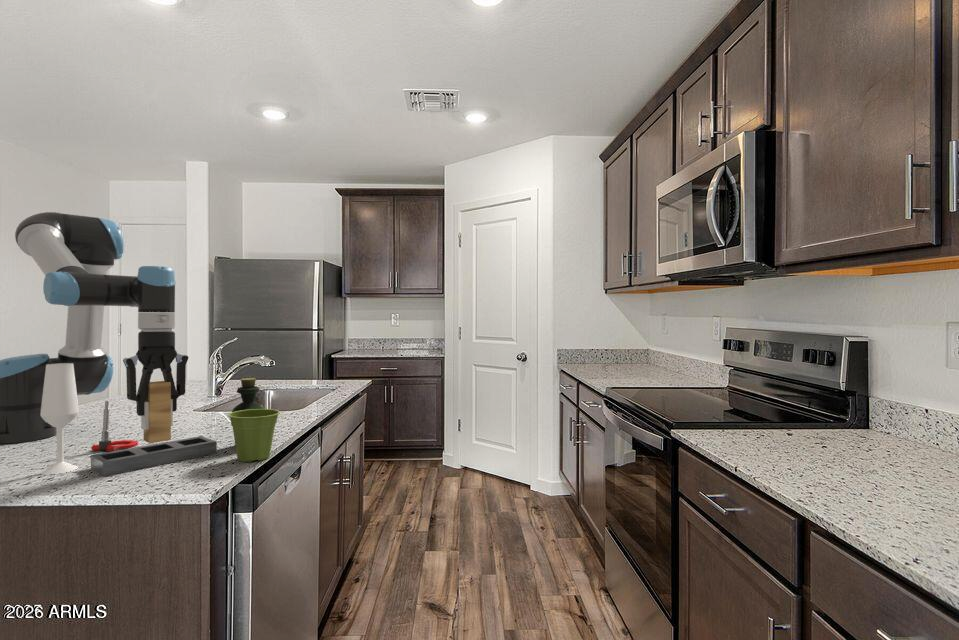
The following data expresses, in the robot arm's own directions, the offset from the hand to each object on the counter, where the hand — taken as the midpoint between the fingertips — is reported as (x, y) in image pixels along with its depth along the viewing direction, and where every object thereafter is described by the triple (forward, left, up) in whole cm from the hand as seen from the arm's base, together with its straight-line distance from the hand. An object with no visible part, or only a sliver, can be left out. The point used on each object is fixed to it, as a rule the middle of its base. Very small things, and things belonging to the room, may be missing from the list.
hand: (157, 426), depth 123 cm
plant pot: (+16, +16, -8) cm, 24 cm away
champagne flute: (-8, -17, -8) cm, 20 cm away
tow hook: (-22, -2, -8) cm, 24 cm away
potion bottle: (+3, +21, -8) cm, 23 cm away
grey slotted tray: (0, 0, -8) cm, 8 cm away
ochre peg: (0, 0, -3) cm, 3 cm away
